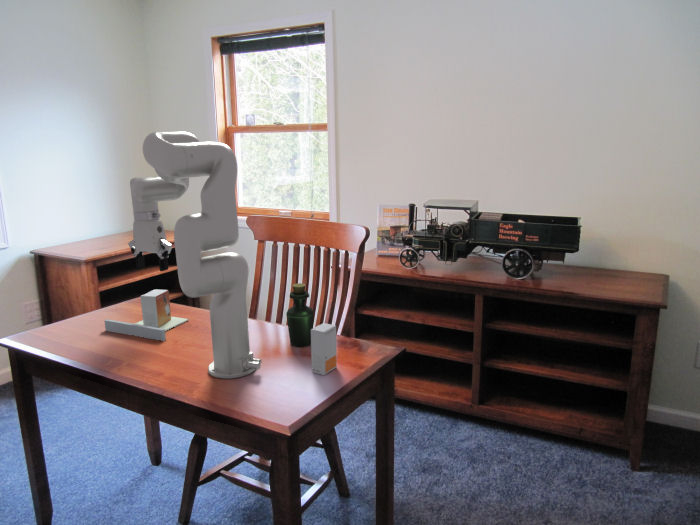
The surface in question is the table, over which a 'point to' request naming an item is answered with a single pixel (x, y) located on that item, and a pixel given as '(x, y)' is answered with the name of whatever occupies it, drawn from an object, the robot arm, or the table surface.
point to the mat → (169, 323)
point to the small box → (155, 308)
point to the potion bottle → (300, 317)
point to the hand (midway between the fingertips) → (152, 269)
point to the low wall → (135, 329)
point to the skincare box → (323, 348)
